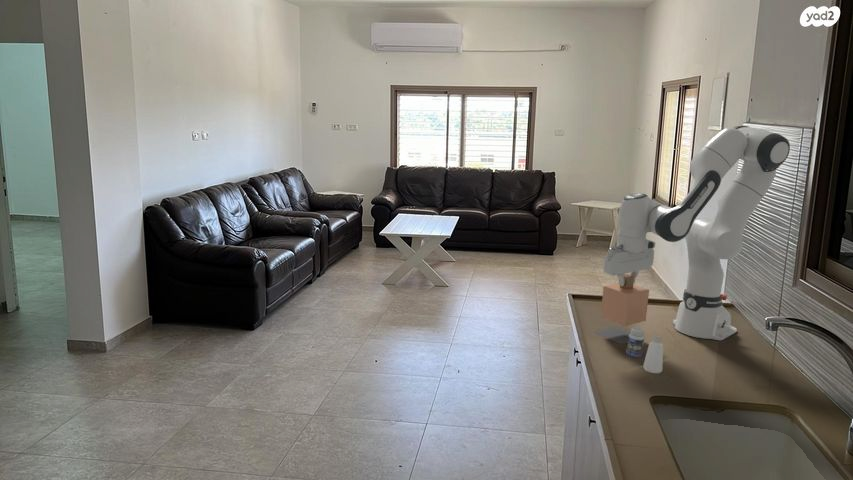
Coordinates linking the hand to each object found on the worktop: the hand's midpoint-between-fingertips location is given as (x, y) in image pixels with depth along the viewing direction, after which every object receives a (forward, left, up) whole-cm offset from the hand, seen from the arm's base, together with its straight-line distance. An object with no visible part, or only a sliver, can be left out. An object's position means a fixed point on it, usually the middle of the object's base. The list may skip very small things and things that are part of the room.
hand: (626, 284), depth 208 cm
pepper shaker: (+12, +23, -18) cm, 32 cm away
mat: (0, 0, -18) cm, 18 cm away
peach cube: (0, 0, -12) cm, 12 cm away
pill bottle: (+8, +13, -18) cm, 24 cm away
